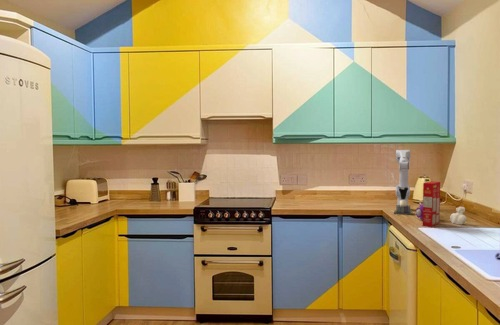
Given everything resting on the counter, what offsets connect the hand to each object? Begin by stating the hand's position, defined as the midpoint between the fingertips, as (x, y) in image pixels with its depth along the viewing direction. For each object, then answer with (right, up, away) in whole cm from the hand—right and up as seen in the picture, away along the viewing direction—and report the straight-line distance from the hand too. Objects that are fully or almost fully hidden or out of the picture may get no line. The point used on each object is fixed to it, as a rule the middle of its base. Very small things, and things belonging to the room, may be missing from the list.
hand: (403, 198), depth 299 cm
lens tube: (0, -10, 0) cm, 10 cm away
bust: (+20, -12, -37) cm, 44 cm away
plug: (0, -7, 0) cm, 7 cm away
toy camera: (+6, -11, -24) cm, 27 cm away
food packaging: (+3, -12, -40) cm, 42 cm away
